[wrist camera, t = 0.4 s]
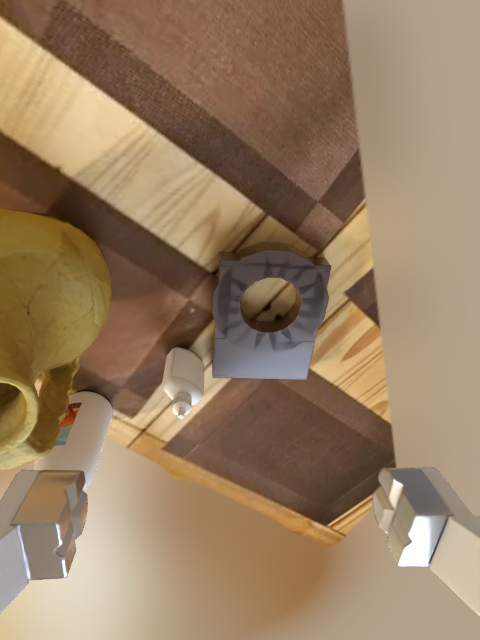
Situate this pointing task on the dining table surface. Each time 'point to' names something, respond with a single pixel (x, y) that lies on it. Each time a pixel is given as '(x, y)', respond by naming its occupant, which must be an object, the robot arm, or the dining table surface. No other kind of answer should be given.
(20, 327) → the pitcher
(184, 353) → the eye dropper bottle
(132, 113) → the dining table surface
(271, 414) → the dining table surface
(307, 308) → the grey ring plate
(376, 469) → the dining table surface
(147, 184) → the dining table surface
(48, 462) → the milk bottle
